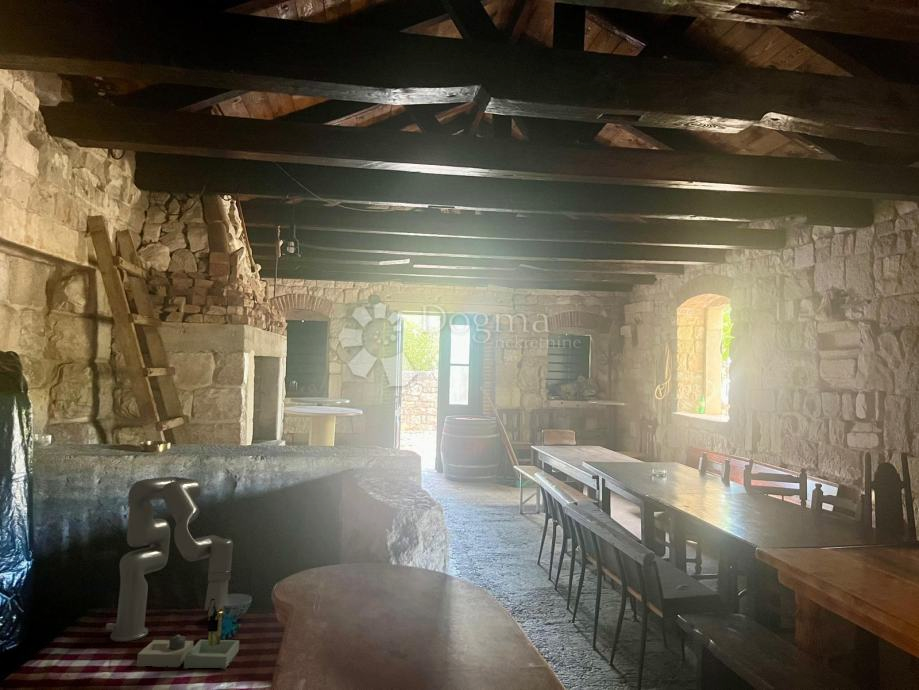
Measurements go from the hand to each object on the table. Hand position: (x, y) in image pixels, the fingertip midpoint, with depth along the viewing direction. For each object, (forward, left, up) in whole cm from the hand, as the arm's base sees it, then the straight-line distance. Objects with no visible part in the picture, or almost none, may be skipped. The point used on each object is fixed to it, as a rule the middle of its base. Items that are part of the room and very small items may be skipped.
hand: (215, 628), depth 205 cm
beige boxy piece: (-16, 0, -11) cm, 19 cm away
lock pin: (0, 0, -5) cm, 5 cm away
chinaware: (-6, +40, -11) cm, 42 cm away
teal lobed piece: (-3, +21, -11) cm, 24 cm away
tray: (0, 0, -11) cm, 11 cm away
